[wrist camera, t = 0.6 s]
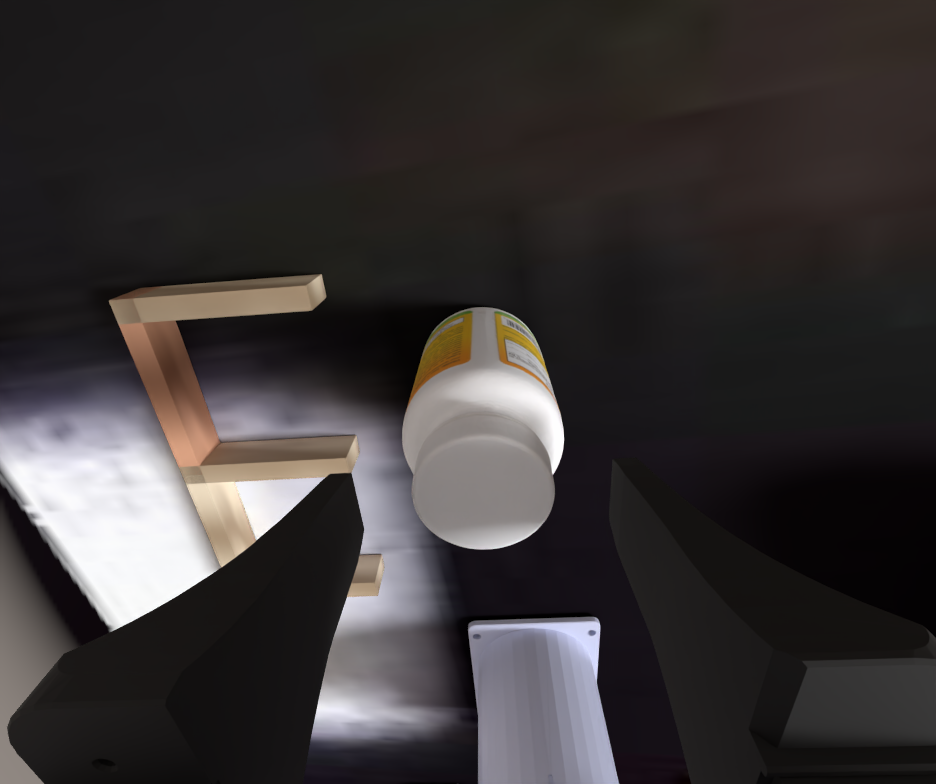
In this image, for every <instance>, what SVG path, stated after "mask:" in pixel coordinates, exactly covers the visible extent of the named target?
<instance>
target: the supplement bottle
mask: <svg viewBox="0 0 936 784" xmlns="http://www.w3.org/2000/svg"><path fill="white" fill-rule="evenodd" d="M402 443H403V450H404V454H405V457H406V460H407V463H408V465H409V467H410V469H411V470H412V472H413V474H414V477H413V483H412V498H413V503H414V506H415V510H416V512H417V514H418V516H419V517H420V519H421V520H422V522H423V523H424V524H425V526H426V527H427V528H428V529H429V530H431V531H432V532H433V533H434V534H436V535H437V536H439V537H440V538H442V539H443V540H445V541H447V542H450V543H452V544H455V545H458V546H461V547H465V548H471V549H496V548H501V547H505V546H509V545H512V544H515V543H517V542H519V541H521V540H523V539H525V538H527V537H529V536H530V535H531V534H532V533H534V532H535V531H536V530H537V529H538V528H539V527H540V526H541V525H542V524H543V523H544V521H545V520H546V519H547V517H548V515H549V513H550V511H551V509H552V506H553V502H554V496H555V486H554V480H553V474H554V472H555V470H556V468H557V466H558V464H559V462H560V459H561V456H562V452H563V445H564V431H563V424H562V419H561V415H560V411H559V408H558V405H557V402H556V399H555V396H554V393H553V389H552V386H551V383H550V379H549V376H548V373H547V370H546V367H545V364H544V360H543V357H542V354H541V351H540V348H539V346H538V343H537V341H536V339H535V337H534V336H533V334H532V332H531V331H530V330H529V328H528V327H527V326H526V325H525V324H524V323H523V322H522V321H520V320H519V319H518V318H516V317H515V316H513V315H511V314H509V313H507V312H505V311H502V310H499V309H495V308H488V307H476V308H470V309H466V310H462V311H460V312H457V313H455V314H453V315H451V316H449V317H448V318H446V319H445V320H444V321H442V322H441V323H440V324H439V325H438V326H437V327H436V328H435V329H434V331H433V332H432V333H431V335H430V337H429V339H428V341H427V343H426V345H425V348H424V351H423V354H422V357H421V361H420V365H419V368H418V372H417V375H416V379H415V382H414V386H413V389H412V392H411V396H410V399H409V403H408V406H407V410H406V413H405V418H404V423H403V430H402Z"/></svg>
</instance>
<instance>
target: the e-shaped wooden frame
mask: <svg viewBox="0 0 936 784" xmlns="http://www.w3.org/2000/svg"><path fill="white" fill-rule="evenodd" d="M325 298H326V292H325V288H324V283H323V278H322V274H316V275H303V276H290V277H277V278H264V279H251V280H238V281H225V282H212V283H198V284H185V285H172V286H159V287H146V288H139V289H137V290H134V291H131V292H129V293H126V294H124V295H121V296H119V297H116V298H113V299H111V300H109V303H110V305H111V308H112V310H113V312H114V315H115V317H116V319H117V322H118V324H119V327H120V329H121V331H122V334H123V336H124V338H125V341H126V343H127V346H128V348H129V350H130V353H131V355H132V357H133V360H134V362H135V364H136V367H137V369H138V372H139V374H140V376H141V379H142V381H143V383H144V386H145V388H146V391H147V393H148V395H149V398H150V400H151V402H152V405H153V407H154V409H155V412H156V414H157V417H158V419H159V421H160V424H161V426H162V428H163V431H164V433H165V436H166V438H167V440H168V443H169V445H170V447H171V450H172V452H173V454H174V457H175V459H176V462H177V464H178V466H179V469H180V471H181V473H182V476H183V478H184V481H185V483H186V485H187V488H188V490H189V492H190V495H191V497H192V500H193V502H194V504H195V507H196V509H197V511H198V514H199V516H200V518H201V521H202V523H203V526H204V528H205V530H206V533H207V535H208V537H209V540H210V542H211V545H212V547H213V549H214V552H215V554H216V556H217V559H218V561H219V563H220V566H221V568H222V567H223V566H224V565H226V564H227V563H228V562H230V561H231V560H233V559H234V558H235V557H237V556H238V555H239V554H241V553H242V552H243V551H245V550H246V549H247V548H248V547H250V546H251V545H252V544H253V543H254V542H256V539H255V537H254V534H253V531H252V528H251V526H250V523H249V520H248V517H247V515H246V512H245V509H244V506H243V504H242V501H241V498H240V496H239V493H238V490H237V487H236V485H235V482H239V481H258V480H278V479H297V478H316V477H327V476H328V475H329V474H335V473H351V472H352V470H353V467H354V465H355V463H356V460H357V458H358V455H359V453H360V451H359V446H358V441H357V437H356V435H351V436H333V437H316V438H298V439H281V440H263V441H245V442H228V443H220V441H219V438H218V435H217V433H216V430H215V427H214V424H213V422H212V419H211V416H210V413H209V411H208V408H207V405H206V402H205V400H204V397H203V394H202V392H201V389H200V386H199V383H198V381H197V378H196V375H195V372H194V370H193V367H192V364H191V361H190V359H189V356H188V353H187V350H186V348H185V345H184V342H183V340H182V337H181V334H180V331H179V329H178V326H177V323H176V320H189V319H203V318H217V317H231V316H244V315H258V314H272V313H286V312H300V311H312V310H313V309H314V308H315V307H316V306H318V305H319V304H320V303H321V302H322V301H323V300H324V299H325ZM383 571H384V563H383V558H382V555H359V560H358V564H357V567H356V570H355V574H354V577H353V580H352V583H351V586H350V589H349V592H348V595H347V597H357V596H378V593H379V589H380V584H381V580H382V576H383Z"/></svg>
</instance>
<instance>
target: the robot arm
mask: <svg viewBox="0 0 936 784" xmlns="http://www.w3.org/2000/svg"><path fill="white" fill-rule="evenodd" d="M609 520H610V524H611V528H612V532H613V536H614V540H615V544H616V547H617V551H618V554H619V557H620V559H621V562H622V564H623V567H624V569H625V572H626V574H627V577H628V579H629V582H630V584H631V587H632V589H633V592H634V594H635V597H636V599H637V602H638V604H639V607H640V609H641V612H642V614H643V617H644V619H645V622H646V624H647V627H648V630H649V632H650V635H651V638H652V641H653V644H654V647H655V650H656V654H657V657H658V661H659V664H660V667H661V671H662V674H663V678H664V681H665V685H666V688H667V692H668V696H669V699H670V703H671V707H672V710H673V714H674V718H675V721H676V725H677V729H678V733H679V737H680V740H681V744H682V748H683V752H684V756H685V760H686V764H687V768H688V772H689V776H690V780H691V784H936V638H935V637H934V636H933V635H932V634H931V633H930V632H929V631H928V630H927V629H926V628H925V627H924V626H923V625H920V624H918V623H915V622H912V621H910V620H907V619H905V618H902V617H899V616H897V615H894V614H892V613H889V612H886V611H884V610H881V609H879V608H876V607H874V606H871V605H868V604H866V603H863V602H861V601H859V600H856V599H854V598H852V597H849V596H847V595H845V594H843V593H841V592H838V591H836V590H834V589H832V588H829V587H827V586H825V585H823V584H821V583H819V582H817V581H815V580H813V579H810V578H808V577H806V576H804V575H802V574H800V573H798V572H797V571H795V570H793V569H791V568H789V567H787V566H785V565H783V564H781V563H780V562H778V561H776V560H774V559H772V558H770V557H769V556H767V555H765V554H763V553H762V552H760V551H758V550H757V549H755V548H753V547H752V546H750V545H749V544H747V543H745V542H744V541H742V540H741V539H739V538H737V537H736V536H734V535H733V534H731V533H730V532H728V531H727V530H725V529H724V528H722V527H721V526H719V525H718V524H717V523H715V522H714V521H713V520H711V519H710V518H708V517H707V516H706V515H704V514H703V513H701V512H700V511H699V510H698V509H696V508H695V507H694V506H692V505H691V504H690V503H689V502H687V501H686V500H685V499H684V498H682V497H681V496H680V495H679V494H677V493H676V492H675V491H674V490H673V489H671V488H670V487H669V486H668V485H667V484H666V483H664V482H663V481H662V480H661V479H660V478H659V477H658V476H656V475H655V474H654V473H653V472H652V471H651V470H650V469H648V468H647V467H646V466H645V465H644V464H643V463H642V462H640V461H639V460H638V459H637V458H621V459H613V465H612V480H611V495H610V510H609ZM363 533H364V526H363V522H362V517H361V513H360V509H359V504H358V500H357V496H356V491H355V487H354V483H353V478H352V474H351V473H335V474H329V475H328V476H327V477H326V478H325V479H323V480H322V481H321V482H320V483H319V484H318V485H317V486H316V487H315V488H314V489H313V490H312V491H311V492H310V493H309V494H308V495H307V496H306V497H305V498H304V499H303V500H302V501H300V502H299V503H298V504H297V505H296V506H295V507H294V508H293V509H292V510H291V511H290V512H289V513H288V514H287V515H286V516H284V517H283V518H282V519H281V520H280V521H279V522H278V523H277V524H275V525H274V526H273V527H272V528H271V529H270V530H268V531H267V532H266V533H265V534H264V535H263V536H261V537H260V538H259V539H258V540H257V541H256V542H254V543H253V544H252V545H251V546H250V547H248V548H247V549H246V550H245V551H243V552H242V553H241V554H239V555H238V556H237V557H235V558H234V559H233V560H231V561H230V562H228V563H227V564H226V565H224V566H223V567H222V568H220V569H219V570H217V571H216V572H214V573H213V574H212V575H210V576H208V577H207V578H205V579H204V580H202V581H201V582H199V583H197V584H196V585H194V586H193V587H191V588H190V589H188V590H186V591H185V592H183V593H182V594H180V595H179V596H177V597H175V598H174V599H172V600H170V601H168V602H167V603H165V604H163V605H161V606H160V607H158V608H156V609H154V610H153V611H151V612H149V613H147V614H145V615H143V616H141V617H140V618H138V619H136V620H134V621H132V622H130V623H128V624H126V625H124V626H122V627H120V628H118V629H116V630H114V631H112V632H110V633H108V634H106V635H104V636H102V637H99V638H97V639H95V640H93V641H91V642H89V643H87V644H85V645H82V646H80V647H78V648H76V649H74V650H72V651H69V652H67V653H65V654H63V656H62V657H61V658H60V659H59V660H58V662H57V663H56V664H55V665H54V666H53V668H52V669H51V670H50V671H49V672H48V674H47V675H46V676H45V677H44V678H43V679H42V681H41V682H40V683H39V684H38V686H37V687H36V688H35V689H34V690H33V692H32V693H31V694H30V695H29V697H27V699H26V700H25V701H24V702H23V703H22V705H21V706H20V707H19V708H18V709H17V711H16V712H15V713H14V714H13V715H12V717H11V718H10V721H9V724H8V727H7V729H8V735H9V740H10V743H11V745H12V746H13V748H14V749H15V751H16V752H17V754H18V755H19V756H20V757H21V758H22V759H23V760H24V761H25V763H26V764H27V765H28V766H29V767H30V768H31V769H32V770H33V771H34V772H35V774H36V775H37V776H38V777H39V778H40V779H41V780H42V782H43V783H44V784H303V778H304V773H305V767H306V762H307V756H308V750H309V745H310V739H311V734H312V729H313V724H314V719H315V714H316V709H317V704H318V699H319V694H320V690H321V685H322V681H323V677H324V672H325V668H326V663H327V659H328V654H329V651H330V647H331V644H332V640H333V637H334V634H335V631H336V628H337V625H338V622H339V619H340V616H341V613H342V610H343V607H344V604H345V601H346V598H347V595H348V592H349V589H350V586H351V583H352V580H353V577H354V574H355V570H356V567H357V564H358V560H359V555H360V550H361V545H362V539H363ZM468 634H469V643H470V651H471V660H472V668H473V677H474V685H475V694H476V702H477V711H478V784H619V782H618V778H617V773H616V769H615V764H614V760H613V755H612V751H611V746H610V742H609V737H608V733H607V728H606V724H605V719H604V715H603V710H602V706H601V701H600V697H599V692H598V687H597V669H598V653H599V638H600V624H599V620H598V619H597V618H595V617H567V618H538V619H509V620H479V621H472V622H470V623H469V625H468Z"/></svg>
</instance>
